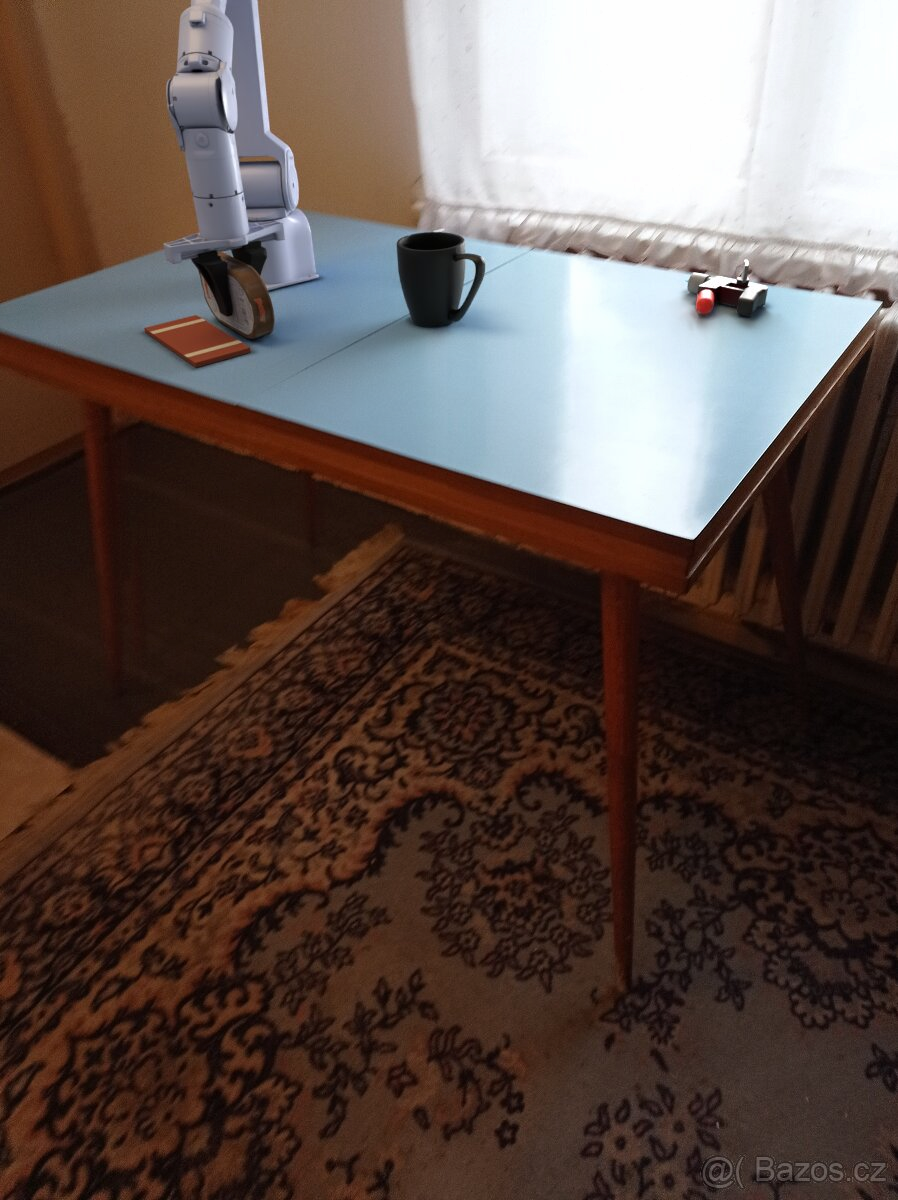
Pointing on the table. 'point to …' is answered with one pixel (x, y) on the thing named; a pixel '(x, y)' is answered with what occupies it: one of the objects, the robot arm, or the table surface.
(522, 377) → the table surface
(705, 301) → the red and grey device
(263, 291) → the tin
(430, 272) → the mug
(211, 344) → the towel
